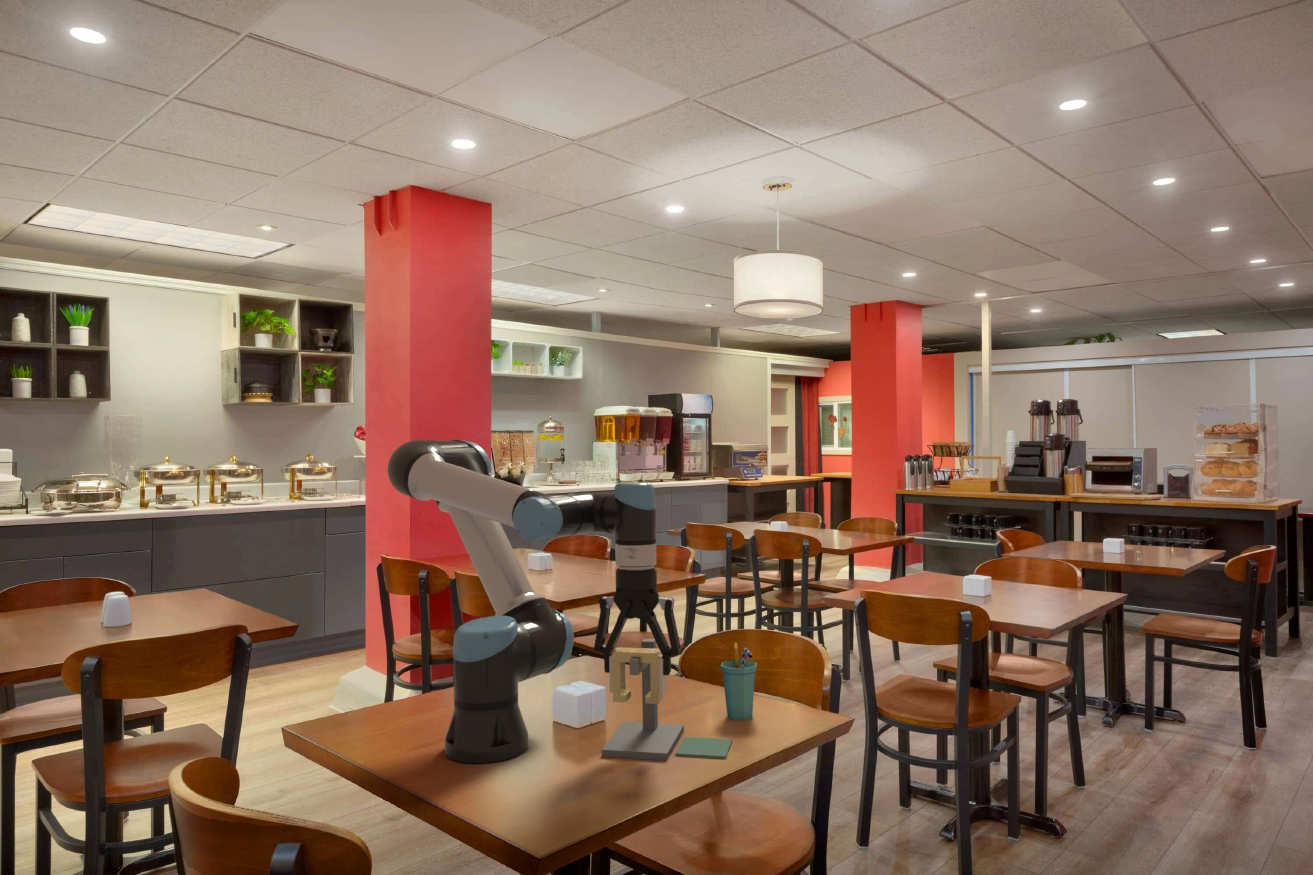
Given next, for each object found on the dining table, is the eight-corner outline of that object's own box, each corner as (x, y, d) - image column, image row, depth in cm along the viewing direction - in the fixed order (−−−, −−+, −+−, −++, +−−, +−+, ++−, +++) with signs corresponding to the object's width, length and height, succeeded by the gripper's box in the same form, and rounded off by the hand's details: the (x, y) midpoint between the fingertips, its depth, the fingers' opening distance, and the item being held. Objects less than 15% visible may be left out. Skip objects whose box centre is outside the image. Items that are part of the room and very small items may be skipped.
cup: (771, 726, 162) (769, 649, 163) (733, 729, 161) (731, 652, 161) (748, 706, 176) (747, 635, 176) (713, 709, 174) (712, 637, 175)
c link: (613, 701, 150) (612, 651, 150) (618, 695, 153) (617, 647, 154) (658, 703, 148) (657, 653, 148) (662, 698, 152) (661, 648, 152)
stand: (601, 756, 148) (599, 654, 148) (624, 727, 163) (622, 636, 164) (667, 760, 145) (665, 657, 146) (684, 730, 161) (682, 637, 161)
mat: (675, 755, 147) (675, 753, 147) (684, 738, 156) (684, 736, 156) (725, 758, 146) (725, 756, 146) (732, 741, 154) (732, 739, 154)
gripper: (574, 568, 150) (575, 694, 149) (689, 570, 145) (691, 700, 145) (586, 563, 157) (588, 683, 157) (696, 564, 153) (698, 688, 152)
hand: (637, 691), depth 151 cm, fingers closed on c link, 8 cm apart
